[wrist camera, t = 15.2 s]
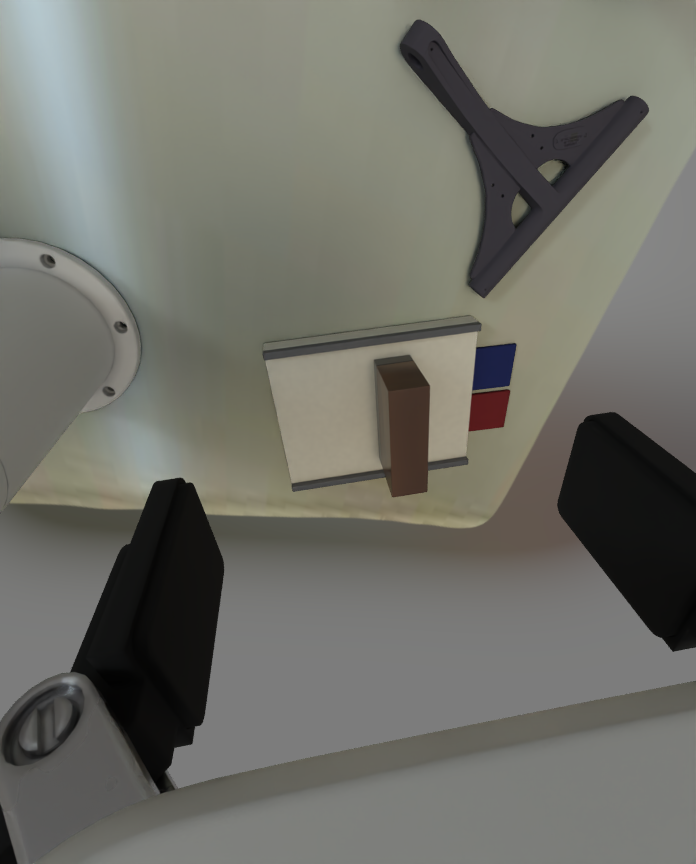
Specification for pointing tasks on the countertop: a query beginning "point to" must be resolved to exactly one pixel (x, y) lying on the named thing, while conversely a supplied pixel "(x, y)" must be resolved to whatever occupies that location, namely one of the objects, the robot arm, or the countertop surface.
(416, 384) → the eraser
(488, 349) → the smudge navy
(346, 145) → the countertop surface
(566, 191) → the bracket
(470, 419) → the smudge maroon
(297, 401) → the memo board
